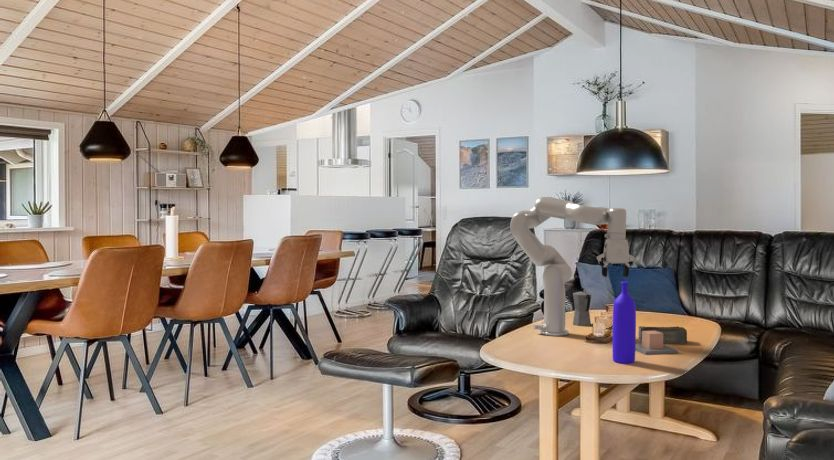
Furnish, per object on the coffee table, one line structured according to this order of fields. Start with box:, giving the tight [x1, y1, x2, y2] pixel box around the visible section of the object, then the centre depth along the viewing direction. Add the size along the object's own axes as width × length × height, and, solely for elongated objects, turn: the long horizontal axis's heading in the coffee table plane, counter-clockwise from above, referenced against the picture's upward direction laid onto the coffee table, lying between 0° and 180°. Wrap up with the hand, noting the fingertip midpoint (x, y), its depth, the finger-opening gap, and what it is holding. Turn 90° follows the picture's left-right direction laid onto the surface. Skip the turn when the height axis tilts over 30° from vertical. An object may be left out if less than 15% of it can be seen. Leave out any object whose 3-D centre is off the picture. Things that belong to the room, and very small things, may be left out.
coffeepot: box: [572, 287, 592, 327], centre depth 325 cm, size 15×9×18 cm, turn 9°
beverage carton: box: [637, 325, 688, 345], centre depth 286 cm, size 8×19×7 cm, turn 80°
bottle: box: [612, 281, 637, 365], centre depth 250 cm, size 8×8×30 cm
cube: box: [642, 331, 664, 349], centre depth 270 cm, size 6×6×6 cm
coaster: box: [635, 342, 679, 355], centre depth 270 cm, size 14×14×1 cm
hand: (615, 276), depth 288 cm, fingers open, 9 cm apart
